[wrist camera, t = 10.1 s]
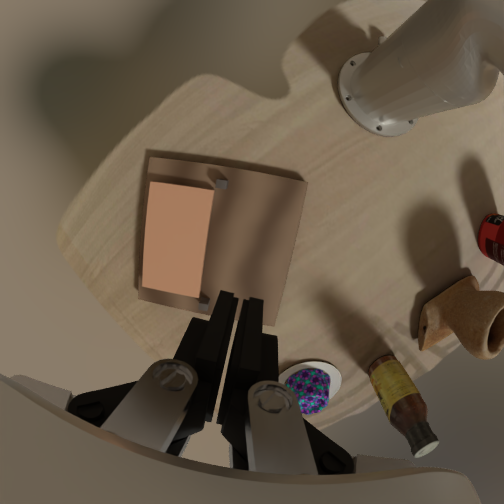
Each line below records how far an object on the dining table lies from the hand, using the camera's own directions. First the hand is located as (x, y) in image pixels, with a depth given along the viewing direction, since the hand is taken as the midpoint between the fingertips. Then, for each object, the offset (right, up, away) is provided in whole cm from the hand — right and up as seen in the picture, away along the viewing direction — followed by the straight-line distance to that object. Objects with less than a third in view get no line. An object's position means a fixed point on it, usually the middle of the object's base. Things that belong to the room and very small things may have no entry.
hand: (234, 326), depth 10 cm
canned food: (+43, +6, +24) cm, 49 cm away
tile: (-9, +4, +22) cm, 24 cm away
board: (-4, +4, +25) cm, 26 cm away
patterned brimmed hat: (+10, -20, +33) cm, 40 cm away
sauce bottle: (+24, -18, +31) cm, 43 cm away
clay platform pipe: (+35, -6, +27) cm, 45 cm away
